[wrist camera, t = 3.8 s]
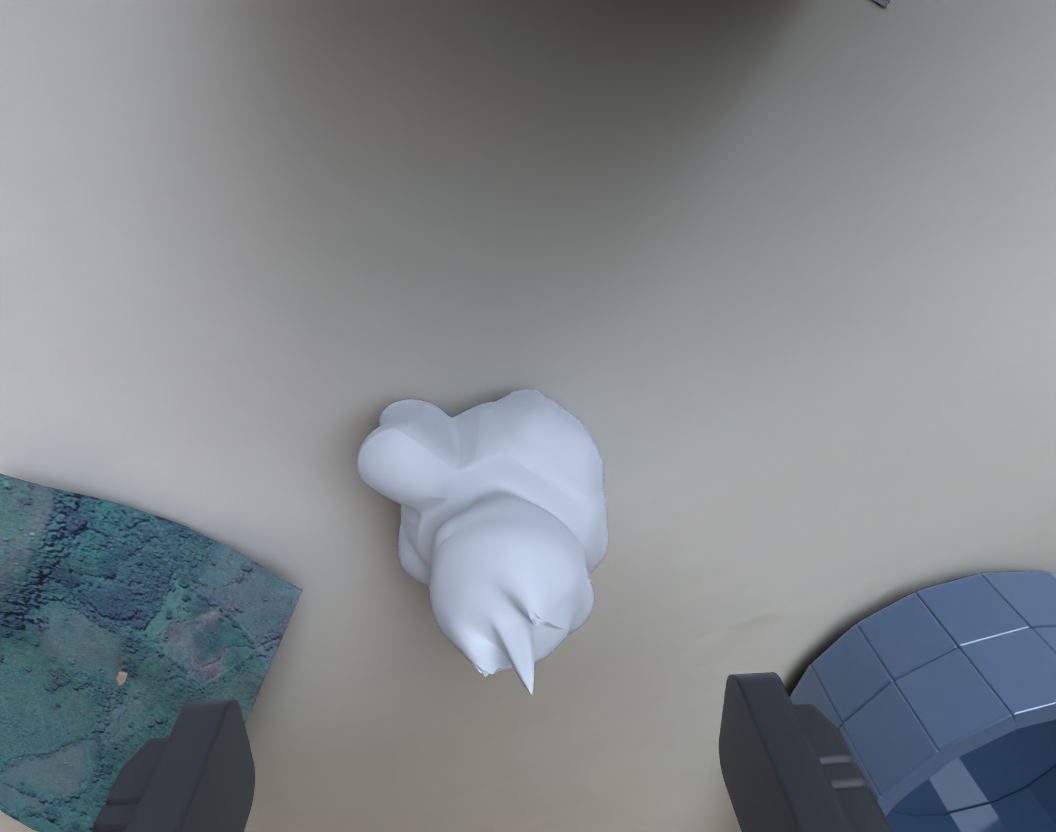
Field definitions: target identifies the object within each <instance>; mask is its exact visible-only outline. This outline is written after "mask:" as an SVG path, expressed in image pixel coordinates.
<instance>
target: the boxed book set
mask: <svg viewBox="0 0 1056 832" xmlns="http://www.w3.org/2000/svg"><path fill="white" fill-rule="evenodd" d="M874 1H876V2H877V3H879V4H880V5H882V6H884V7H885V8H886V7H887V5H888V3H889V2H890V0H874Z"/></svg>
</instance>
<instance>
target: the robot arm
mask: <svg viewBox="0 0 1056 832" xmlns="http://www.w3.org/2000/svg"><path fill="white" fill-rule="evenodd" d="M719 756H720V764H721V769H722V774H723V778H724V781H725V784H726V787H727V790H728V793H729V796H730V799H731V802H732V805H733V808H734V811H735V814H736V817H737V820H738V822H739V825H740V828H741V831H742V832H893V830H892V828H891V826H890V824H889V822H888V820H887V819H886V817H885V815H884V813H883V811H882V809H881V807H880V806H879V804H878V802H877V800H876V798H875V796H874V794H873V793H872V791H871V789H870V788H868V787H867V784H866V780H865V778H864V776H863V774H862V772H861V770H860V768H859V766H858V765H857V763H854V757H853V755H852V753H851V752H850V750H849V748H848V746H847V744H846V742H845V740H844V739H843V737H842V735H841V733H840V731H839V729H838V728H837V727H836V726H835V725H834V724H833V723H832V722H831V721H830V720H829V719H828V718H826V717H825V716H824V715H823V714H822V713H821V712H820V711H819V710H818V709H817V708H816V707H815V706H814V705H813V704H801V705H793V704H792V702H791V700H790V698H789V696H788V693H787V691H786V689H785V687H784V685H783V683H782V681H781V679H780V678H779V676H778V675H777V674H776V673H774V672H771V673H752V674H733V675H729V677H728V679H727V683H726V690H725V698H724V705H723V713H722V721H721V729H720V737H719ZM254 787H255V769H254V762H253V758H252V754H251V750H250V745H249V741H248V737H247V732H246V728H245V724H244V719H243V715H242V711H241V707H240V704H239V702H238V701H237V700H216V701H197V702H188V703H186V704H185V705H184V707H183V708H182V710H181V712H180V714H179V716H178V718H177V720H176V722H175V725H174V727H173V729H172V731H171V733H170V736H169V738H156V739H149V740H148V741H147V742H146V743H145V744H144V745H143V746H142V747H141V748H140V749H139V750H138V751H137V752H136V753H135V754H134V755H133V757H132V758H131V759H130V760H129V761H128V762H127V763H126V764H125V765H124V766H123V767H122V768H121V770H120V772H119V774H118V776H117V778H116V780H115V782H114V784H113V786H112V788H111V790H110V792H109V794H108V796H107V798H106V804H105V806H102V808H101V810H100V812H99V814H98V816H97V818H96V820H95V822H94V824H93V830H92V832H244V829H245V826H246V823H247V820H248V816H249V813H250V810H251V806H252V801H253V796H254Z"/></svg>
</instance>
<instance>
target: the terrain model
mask: <svg viewBox="0 0 1056 832" xmlns="http://www.w3.org/2000/svg"><path fill="white" fill-rule="evenodd" d="M301 592H302V589H300V588H298V587H296V586H294V585H292V584H290V583H288V582H286V581H284V580H283V579H281V578H279V577H278V576H276V575H274V574H273V573H271V572H269V571H268V570H266V569H264V568H263V567H262V566H260V565H259V564H257V563H256V562H254V561H252V560H250V559H248V558H246V557H245V556H243V555H241V554H240V553H238V552H236V551H234V550H232V549H230V548H228V547H226V546H224V545H222V544H220V543H218V542H216V541H214V540H211V539H209V538H207V537H205V536H203V535H201V534H199V533H197V532H195V531H193V530H191V529H189V528H187V527H185V526H182V525H180V524H177V523H175V522H172V521H169V520H166V519H163V518H160V517H157V516H154V515H151V514H149V513H146V512H143V511H140V510H137V509H134V508H131V507H128V506H124V505H120V504H116V503H113V502H109V501H105V500H101V499H97V498H93V497H89V496H85V495H80V494H76V493H72V492H67V491H63V490H58V489H54V488H50V487H46V486H42V485H38V484H34V483H31V482H27V481H23V480H20V479H16V478H13V477H9V476H6V475H3V474H0V810H1V811H3V812H4V813H6V814H7V815H9V816H10V817H12V818H14V819H16V820H17V821H19V822H21V823H22V824H24V825H26V826H27V827H29V828H31V829H33V830H35V831H38V832H92V830H93V824H94V822H95V820H96V818H97V816H98V814H99V812H100V810H101V808H102V806H105V804H106V798H107V796H108V794H109V792H110V790H111V788H112V786H113V784H114V782H115V780H116V778H117V776H118V774H119V772H120V770H121V768H122V767H123V766H124V765H125V764H126V763H127V762H128V761H129V760H130V759H131V758H132V757H133V755H134V754H135V753H136V752H137V751H138V750H139V749H140V748H141V747H142V746H143V745H144V744H145V743H146V742H147V741H148V740H149V739H156V738H169V736H170V733H171V731H172V729H173V727H174V725H175V722H176V720H177V718H178V716H179V714H180V712H181V710H182V708H183V707H184V705H185V704H186V703H188V702H197V701H216V700H237V701H238V702H239V704H240V707H241V711H242V715H243V719H244V723H245V721H246V719H247V717H248V714H249V712H250V710H251V708H252V706H253V703H254V701H255V699H256V696H257V694H258V691H259V689H260V686H261V684H262V681H263V679H264V677H265V675H266V673H267V670H268V668H269V666H270V664H271V662H272V659H273V657H274V655H275V653H276V650H277V648H278V646H279V644H280V641H281V639H282V637H283V634H284V632H285V630H286V627H287V625H288V622H289V620H290V617H291V615H292V613H293V610H294V608H295V606H296V603H297V601H298V598H299V596H300V594H301Z"/></svg>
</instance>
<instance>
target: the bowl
mask: <svg viewBox="0 0 1056 832" xmlns="http://www.w3.org/2000/svg"><path fill="white" fill-rule="evenodd" d="M789 698H790V700H791V702H792V704H793V705H801V704H813V705H814V706H815V707H816V708H817V709H818V710H819V711H820V712H821V713H822V714H823V715H824V716H825V717H826V718H828V719H829V720H830V721H831V722H832V723H833V724H834V725H835V726H836V727H837V728H838V729H839V731H840V733H841V735H842V737H843V739H844V740H845V742H846V744H847V746H848V748H849V750H850V752H851V753H852V755H853V757H854V763H857V765H858V766H859V768H860V770H861V772H862V774H863V776H864V778H865V780H866V784H867V787H868V788H870V789H871V791H872V793H873V794H874V796H875V798H876V800H877V802H878V804H879V806H880V807H881V809H882V811H883V813H884V815H885V817H886V819H887V820H888V822H889V824H890V826H891V828H892V830H893V832H1056V574H1052V573H1049V572H1044V571H1023V572H989V573H981V574H976V575H972V576H968V577H965V578H961V579H958V580H954V581H950V582H947V583H943V584H940V585H936V586H932V587H929V588H925V589H921V590H918V591H916V593H911V594H909V595H908V596H906V597H904V598H902V599H900V600H898V601H896V602H895V603H893V604H891V605H889V606H887V607H885V608H883V609H882V610H880V611H878V612H876V613H874V614H872V615H870V616H869V617H867V618H865V619H863V620H861V621H859V622H858V625H857V624H855V625H853V626H852V627H851V628H850V629H849V630H848V631H847V632H846V633H844V634H843V635H842V636H841V637H840V638H839V639H838V640H837V641H836V642H834V643H833V644H832V645H831V646H830V647H829V648H828V649H827V650H825V651H824V652H823V653H822V654H821V655H820V656H819V657H818V658H817V659H815V660H814V661H813V662H812V664H810V665H809V666H808V668H807V670H806V671H805V673H804V674H803V676H802V678H801V679H800V681H799V682H798V684H797V686H796V687H795V689H794V690H793V692H792V694H791V695H790V697H789Z"/></svg>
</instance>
